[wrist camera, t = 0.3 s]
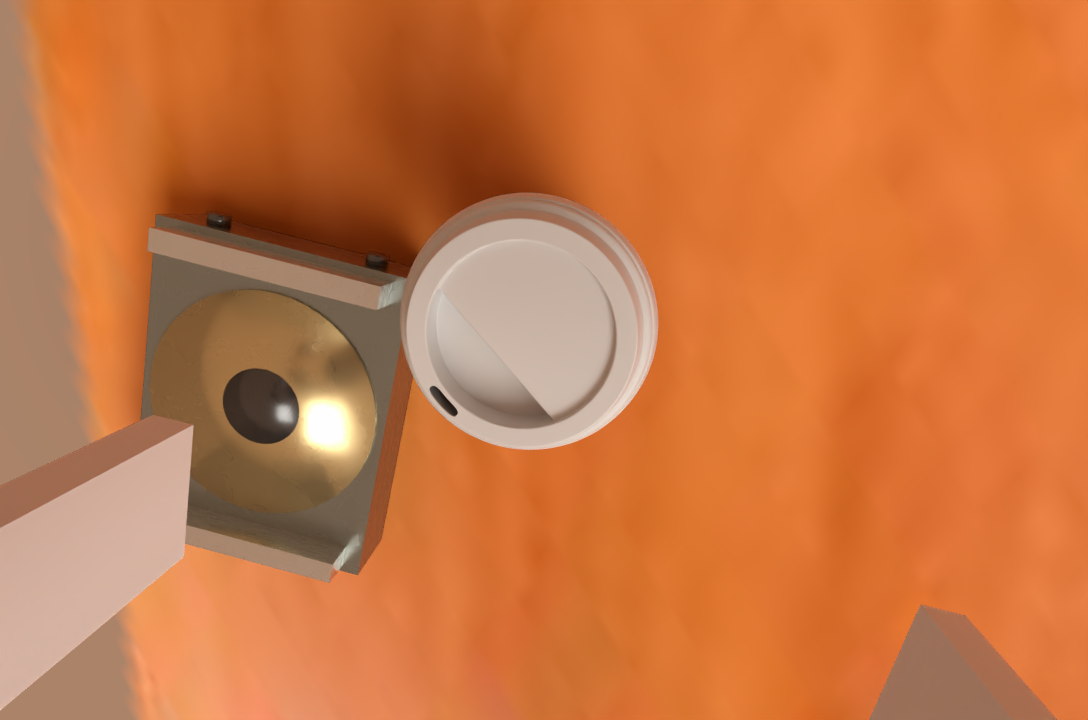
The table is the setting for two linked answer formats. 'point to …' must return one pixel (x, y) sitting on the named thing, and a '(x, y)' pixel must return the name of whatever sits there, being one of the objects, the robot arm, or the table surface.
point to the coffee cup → (528, 321)
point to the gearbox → (278, 388)
